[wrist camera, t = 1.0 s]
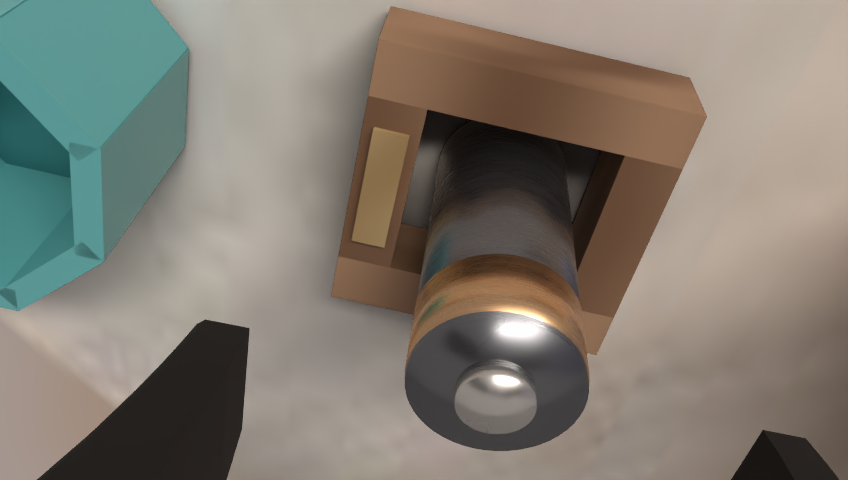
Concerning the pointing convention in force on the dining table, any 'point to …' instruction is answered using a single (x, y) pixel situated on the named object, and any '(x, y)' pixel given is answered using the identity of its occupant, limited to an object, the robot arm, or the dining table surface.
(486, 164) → the cell
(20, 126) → the cup
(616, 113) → the block
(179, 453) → the robot arm
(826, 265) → the dining table surface
